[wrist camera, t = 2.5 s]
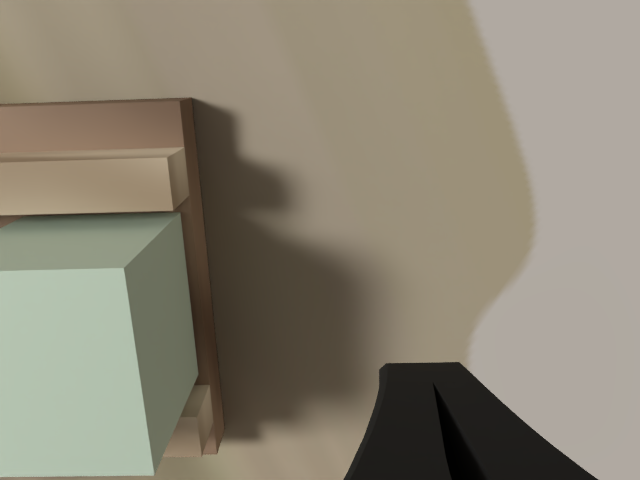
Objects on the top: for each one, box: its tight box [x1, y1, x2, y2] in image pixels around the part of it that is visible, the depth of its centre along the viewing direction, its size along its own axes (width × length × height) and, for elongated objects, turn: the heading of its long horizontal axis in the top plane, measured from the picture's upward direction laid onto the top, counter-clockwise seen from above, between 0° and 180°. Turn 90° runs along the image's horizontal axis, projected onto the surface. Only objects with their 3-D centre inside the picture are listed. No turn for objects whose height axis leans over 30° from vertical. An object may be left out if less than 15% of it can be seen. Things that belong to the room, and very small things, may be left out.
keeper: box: [0, 212, 198, 477], centre depth 13 cm, size 5×4×4 cm
